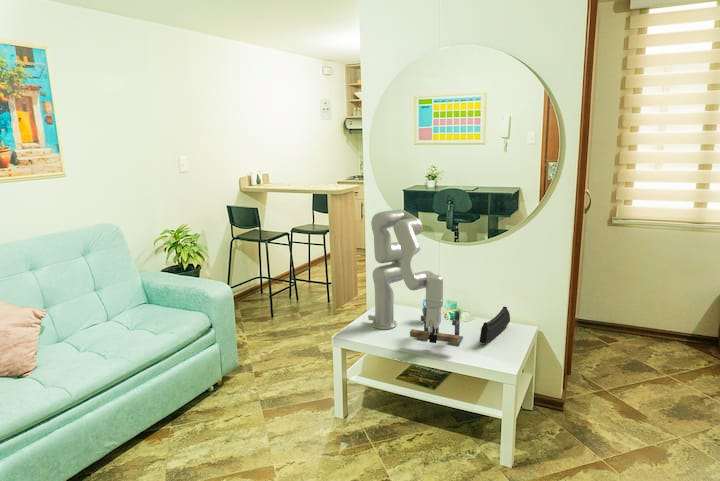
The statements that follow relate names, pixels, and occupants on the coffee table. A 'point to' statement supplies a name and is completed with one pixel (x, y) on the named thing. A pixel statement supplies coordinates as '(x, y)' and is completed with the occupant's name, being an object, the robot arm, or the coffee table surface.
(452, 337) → the rail
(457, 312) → the hook stand
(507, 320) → the magazine
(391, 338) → the coffee table surface
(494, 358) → the coffee table surface
